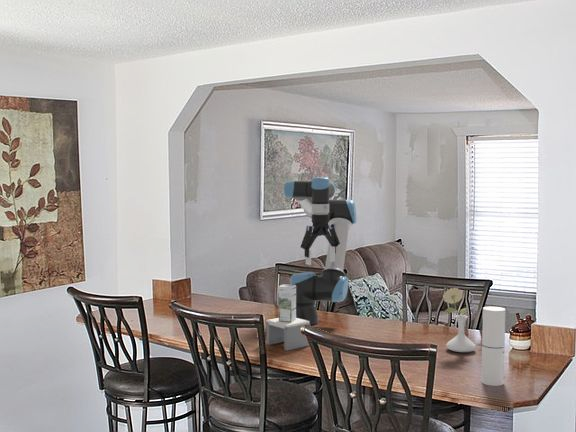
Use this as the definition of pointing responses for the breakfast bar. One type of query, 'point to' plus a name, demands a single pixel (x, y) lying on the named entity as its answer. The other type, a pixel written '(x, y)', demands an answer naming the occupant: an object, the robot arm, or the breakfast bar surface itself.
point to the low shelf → (286, 333)
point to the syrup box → (287, 303)
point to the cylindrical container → (493, 346)
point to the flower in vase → (460, 341)
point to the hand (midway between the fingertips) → (320, 263)
